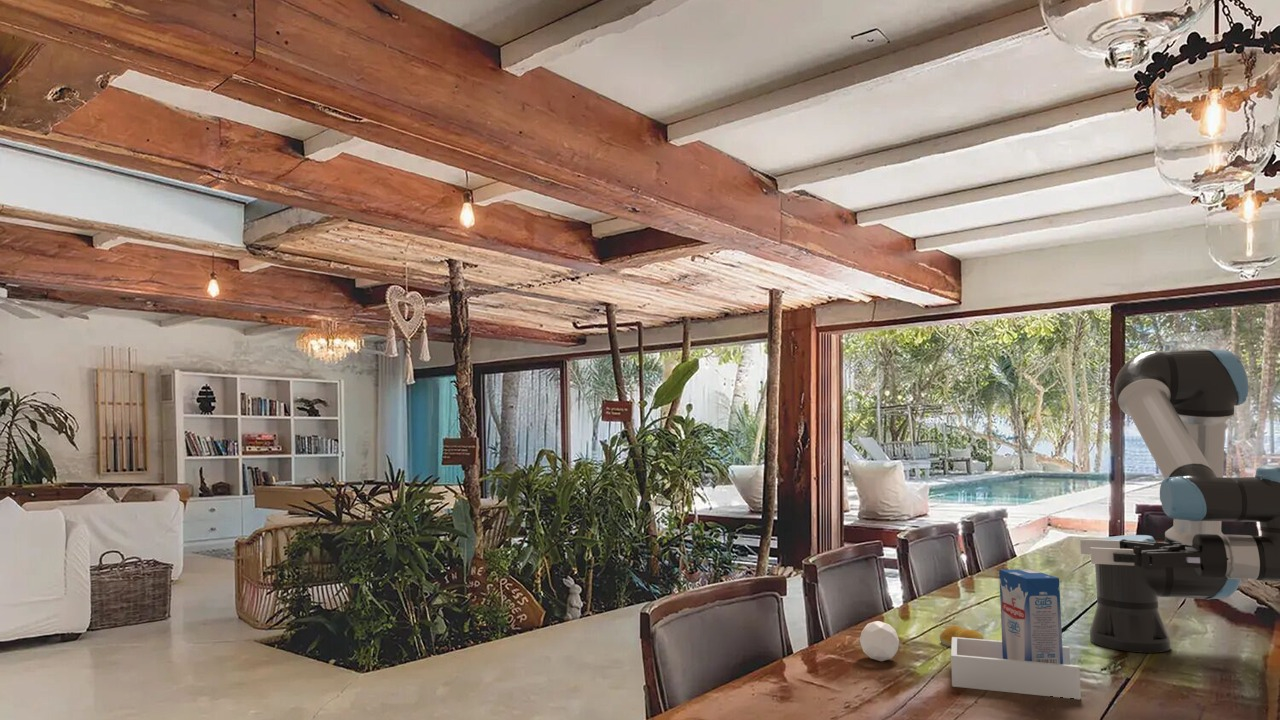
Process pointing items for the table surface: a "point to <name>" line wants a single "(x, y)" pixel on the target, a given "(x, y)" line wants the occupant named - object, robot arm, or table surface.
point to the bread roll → (958, 634)
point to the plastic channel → (1010, 671)
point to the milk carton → (1030, 616)
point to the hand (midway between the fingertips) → (1085, 550)
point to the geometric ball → (879, 641)
